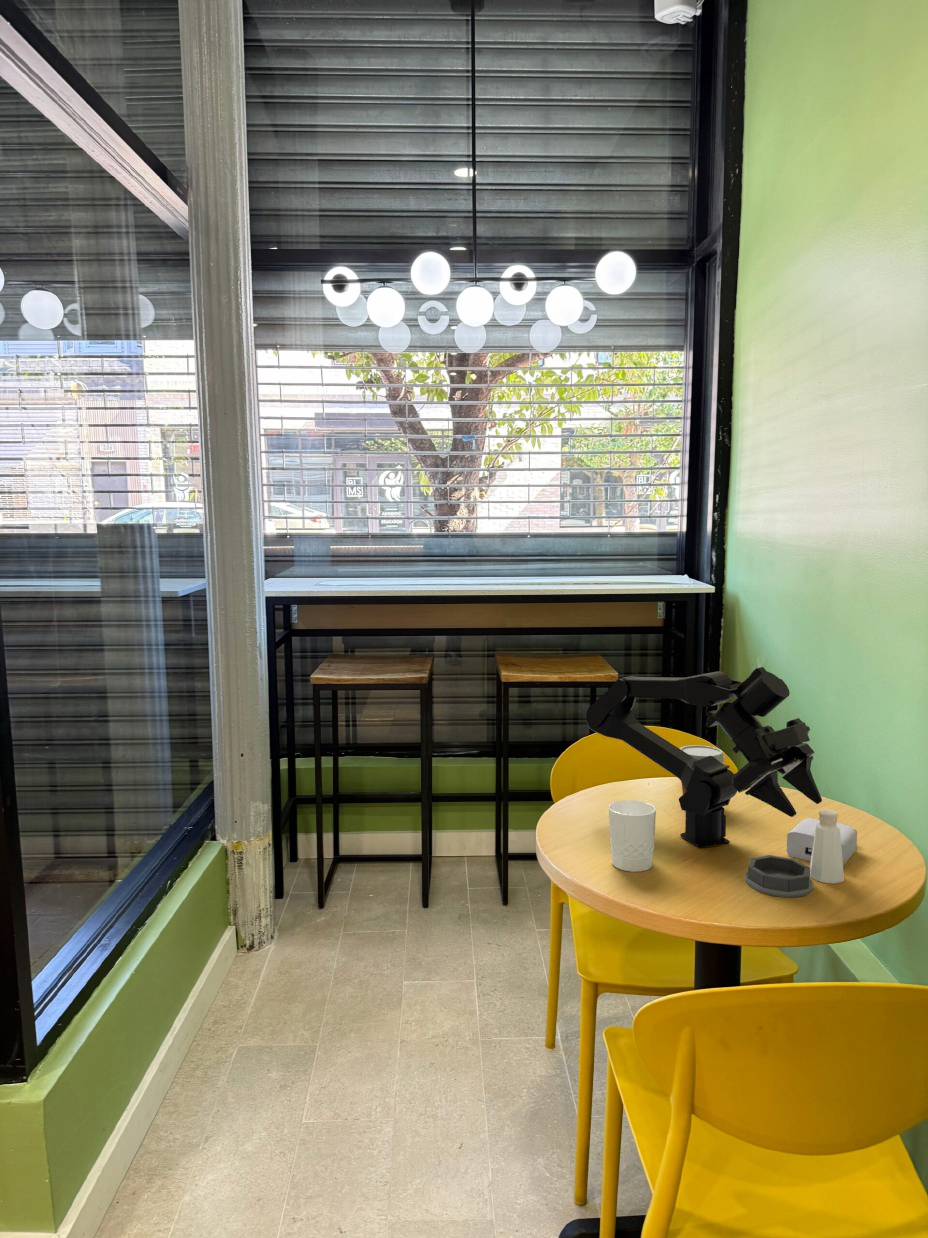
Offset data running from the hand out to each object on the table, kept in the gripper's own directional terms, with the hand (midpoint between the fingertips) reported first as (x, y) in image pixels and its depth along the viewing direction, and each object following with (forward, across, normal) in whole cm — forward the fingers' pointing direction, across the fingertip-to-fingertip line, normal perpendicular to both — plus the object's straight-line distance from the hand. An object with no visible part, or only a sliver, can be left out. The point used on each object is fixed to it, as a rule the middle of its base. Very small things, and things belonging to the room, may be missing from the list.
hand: (807, 809), depth 132 cm
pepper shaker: (+10, 0, +5) cm, 11 cm away
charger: (+6, +12, +9) cm, 17 cm away
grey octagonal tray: (+7, -8, +8) cm, 13 cm away
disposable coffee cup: (-13, +16, +28) cm, 35 cm away
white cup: (-8, -18, +23) cm, 30 cm away
